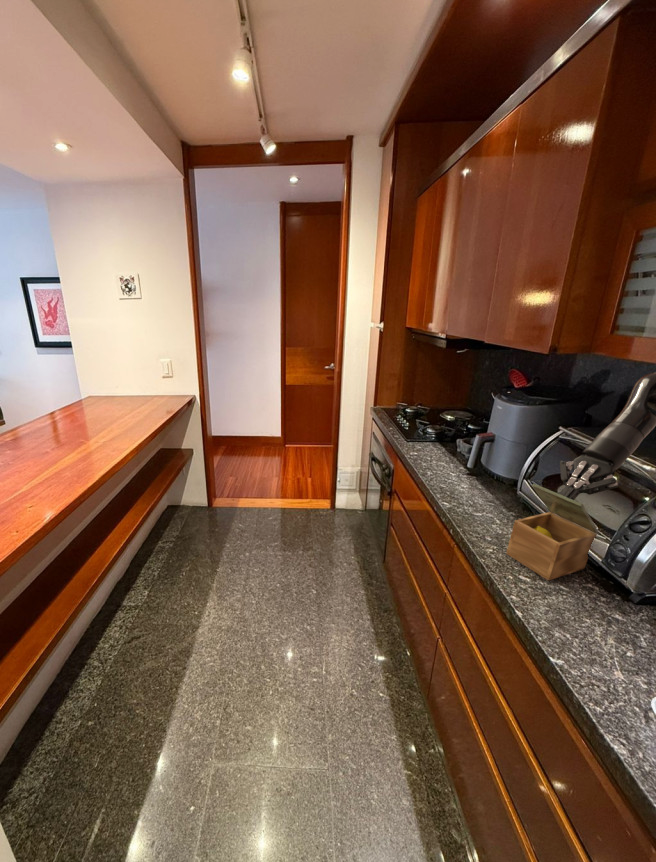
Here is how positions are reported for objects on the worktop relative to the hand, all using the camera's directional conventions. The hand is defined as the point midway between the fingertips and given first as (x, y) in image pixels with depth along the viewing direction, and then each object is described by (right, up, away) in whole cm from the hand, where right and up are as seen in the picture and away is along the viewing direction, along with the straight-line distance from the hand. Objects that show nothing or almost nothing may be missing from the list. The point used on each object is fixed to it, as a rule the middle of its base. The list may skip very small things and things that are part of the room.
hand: (562, 501), depth 92 cm
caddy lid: (+1, -2, +2) cm, 3 cm away
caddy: (0, -16, +7) cm, 18 cm away
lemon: (-1, -15, +6) cm, 16 cm away
